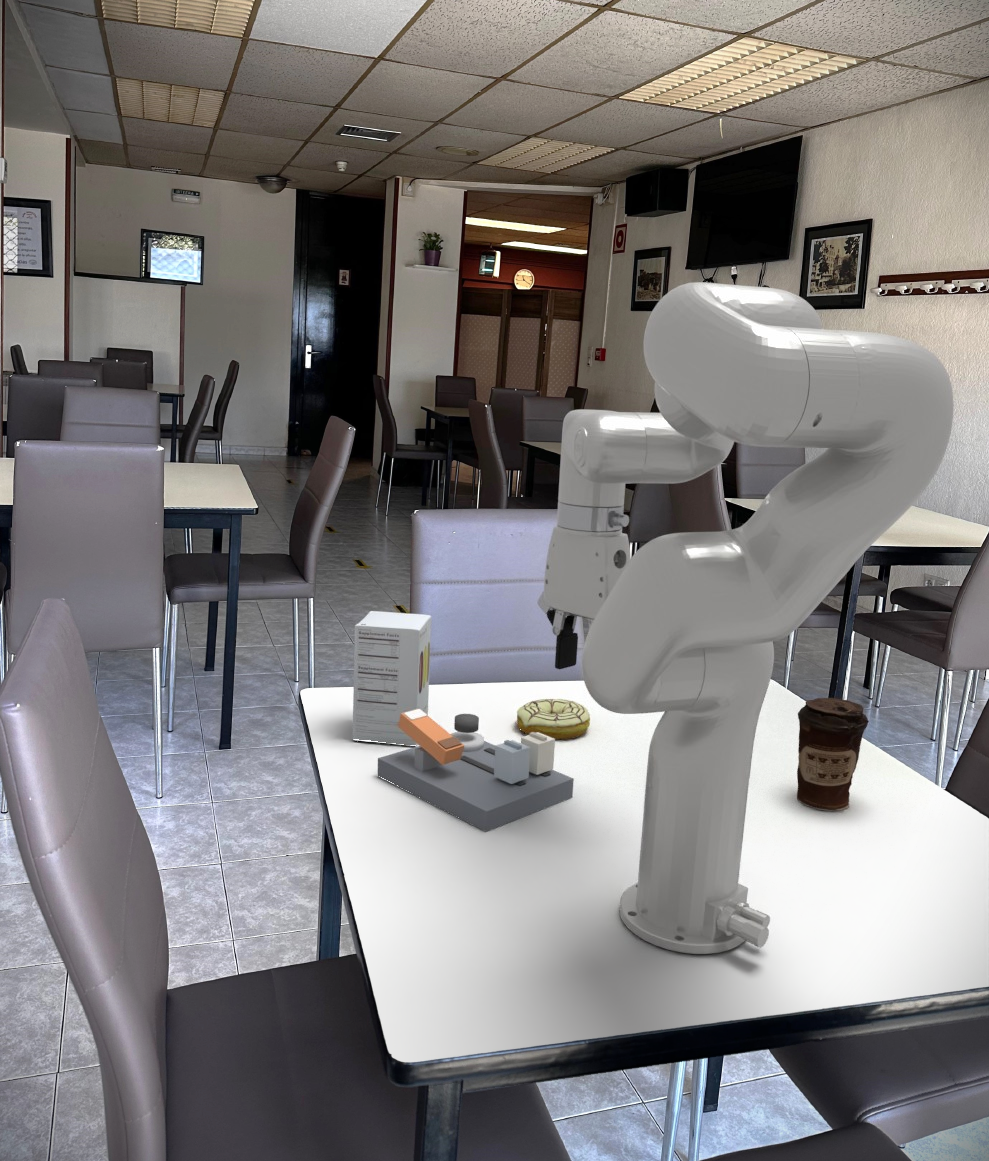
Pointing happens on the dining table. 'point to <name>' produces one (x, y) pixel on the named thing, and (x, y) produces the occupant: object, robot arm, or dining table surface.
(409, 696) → the supplement box
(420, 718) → the rocker switch
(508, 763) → the slate knob
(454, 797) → the console
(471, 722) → the push button
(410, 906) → the dining table surface
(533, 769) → the ivory knob
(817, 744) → the coffee cup
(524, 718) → the decorated donut
